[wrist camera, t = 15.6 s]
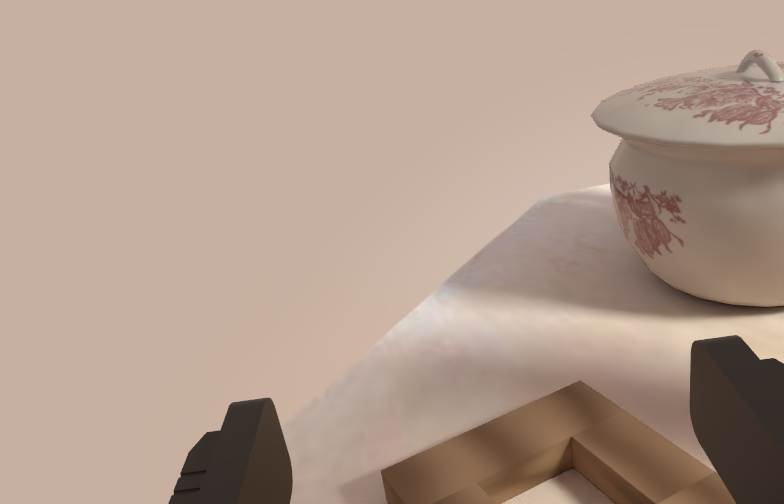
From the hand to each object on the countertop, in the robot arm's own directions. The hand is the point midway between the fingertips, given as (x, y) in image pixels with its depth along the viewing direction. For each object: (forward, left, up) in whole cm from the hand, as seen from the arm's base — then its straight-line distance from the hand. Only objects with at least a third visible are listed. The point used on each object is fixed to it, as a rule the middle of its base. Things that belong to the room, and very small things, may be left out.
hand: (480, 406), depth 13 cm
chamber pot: (-47, -31, -24) cm, 61 cm away
